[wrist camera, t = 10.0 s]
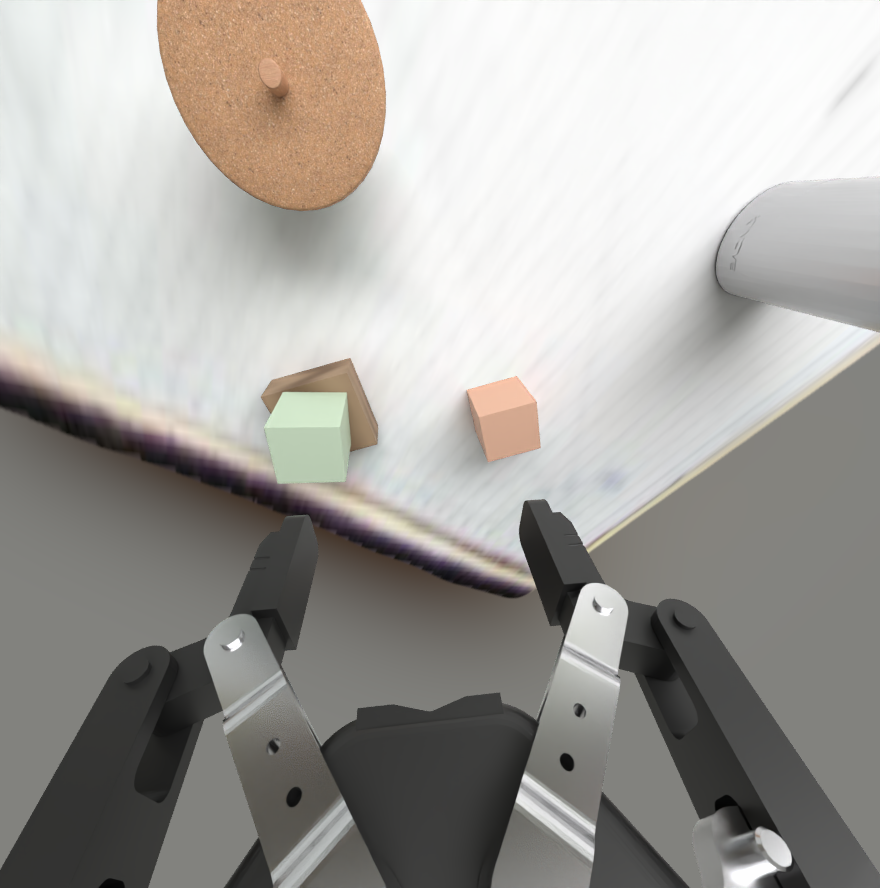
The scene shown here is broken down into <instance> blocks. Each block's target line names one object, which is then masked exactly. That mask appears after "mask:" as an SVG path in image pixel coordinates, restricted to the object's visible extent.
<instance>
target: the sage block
mask: <svg viewBox="0 0 880 888" xmlns="http://www.w3.org/2000/svg"><path fill="white" fill-rule="evenodd" d="M264 430H265V434H266V438H267V442H268V446H269V450H270V454H271V458H272V462H273V466H274V470H275V474H276V478H277V482H278V484H285V483H319V482H346V475H347V468H348V461H349V454H350V447H351V435H350V424H349V412H348V400H347V392H283V393H282V395H281V397H280V399H279V400H278V402H277V404H276V406H275V408H274V410H273V412H272V413H271V415H270V417H269V419H268V421H267V423H266V425H265V427H264Z"/></svg>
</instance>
